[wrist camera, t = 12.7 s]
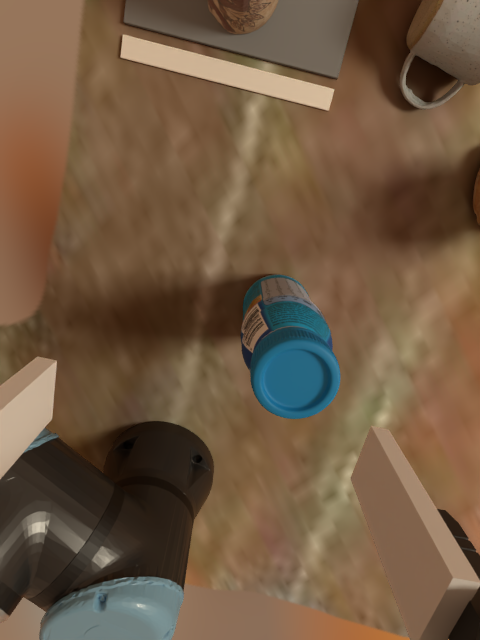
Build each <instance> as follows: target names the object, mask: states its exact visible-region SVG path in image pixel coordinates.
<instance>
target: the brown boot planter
mask: <svg viewBox="0 0 480 640" xmlns="http://www.w3.org/2000/svg"><path fill="white" fill-rule="evenodd" d="M473 209H474V212H475V214H476V215H477V222H478V224H479V225H480V169H479V172H478V174H477V177H476V181H475V186H474V195H473Z"/></svg>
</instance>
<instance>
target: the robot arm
mask: <svg viewBox="0 0 480 640" xmlns="http://www.w3.org/2000/svg"><path fill="white" fill-rule="evenodd" d="M56 365H57V361H56V360H51V359H47V358H42V357H36V358H35V359H34V360H33V361H31V362H30V363H29V364H27V365H26V366H25V367H24V368H22V369H21V370H20V371H19V372H17V373H16V374H15V375H13V376H12V377H11V378H10V379H8V380H7V381H6V382H4V383H3V384H2V385H1V386H0V623H2V622H4V621H6V620H7V619H8V618H9V616H10V615H11V613H12V612H13V610H14V609H15V608H16V606H17V605H18V603H19V602H20V600H21V599H22V598H23V597H24V598H26V599H28V600H29V601H31V602H32V603H34V604H35V605H37V606H38V607H40V608H41V609H43V610H44V611H46V613H45V615H44V616H43V618H42V620H41V629H40V635H39V639H40V640H171V639H172V637H173V634H174V631H175V628H176V623H177V619H178V615H179V610H180V606H181V605H182V602H183V598H184V596H183V594H184V593H183V590H184V583H185V576H186V569H187V563H188V556H189V549H190V542H191V535H192V528H193V522H194V519H195V517H196V516H197V514H198V512H199V511H200V509H201V507H202V506H203V504H204V502H205V501H206V499H207V497H208V495H209V493H210V490H211V487H212V482H213V473H214V464H213V459H212V456H211V453H210V451H209V449H208V448H207V446H206V445H205V444H204V442H203V441H202V440H201V439H200V438H199V437H198V436H197V435H195V434H194V433H193V432H191V431H189V430H188V429H186V428H183V427H181V426H179V425H175V424H172V423H166V422H148V423H143V424H139V425H137V426H134V427H132V428H130V429H128V430H127V431H125V432H124V433H123V434H121V435H120V436H119V437H118V439H117V440H116V441H115V443H114V444H113V446H112V448H111V450H110V452H109V454H108V456H107V458H106V461H105V465H104V474H103V473H102V472H101V471H100V470H98V469H97V468H96V467H95V466H93V465H92V464H91V463H89V462H88V461H87V460H86V459H84V458H83V457H82V456H81V455H79V454H78V453H77V452H75V451H74V450H73V449H72V448H70V447H69V446H68V445H67V444H65V443H64V442H63V441H62V440H61V439H59V438H58V437H59V436H58V435H57V434H56V433H51V432H50V431H49V430H47V429H46V428H45V427H46V425H47V424H48V423H49V422H50V421H51V420H52V414H53V401H54V389H55V377H56ZM351 481H352V483H353V486H354V489H355V492H356V494H357V497H358V500H359V502H360V505H361V508H362V511H363V513H364V516H365V519H366V521H367V524H368V527H369V529H370V532H371V535H372V538H373V540H374V543H375V546H376V548H377V551H378V554H379V557H380V559H381V562H382V565H383V567H384V570H385V573H386V576H387V578H388V581H389V584H390V586H391V589H392V592H393V595H394V597H395V600H396V603H397V605H398V608H399V611H400V614H401V616H402V619H403V622H404V624H405V627H406V630H407V632H408V635H409V638H410V640H448V639H449V640H480V556H479V554H478V553H476V549H475V548H474V546H473V545H472V543H471V542H470V541H468V537H467V535H466V534H465V532H464V531H463V529H462V528H461V526H460V525H459V523H458V522H457V521H456V520H455V519H454V518H453V517H452V516H451V515H450V514H449V513H447V512H446V511H445V510H440V509H436V507H435V505H434V504H433V502H432V500H431V499H430V497H429V495H428V494H427V492H426V490H425V489H424V487H423V486H422V484H421V482H420V481H419V479H418V477H417V476H416V474H415V472H414V471H413V469H412V467H411V466H410V464H409V462H408V461H407V459H406V457H405V456H404V454H403V453H402V451H401V449H400V448H399V446H398V444H397V443H396V441H395V439H394V438H393V436H392V434H391V433H390V431H389V430H388V429H383V428H378V427H374V426H371V428H370V430H369V433H368V435H367V438H366V440H365V443H364V446H363V448H362V451H361V453H360V456H359V458H358V461H357V463H356V466H355V469H354V471H353V474H352V476H351Z"/></svg>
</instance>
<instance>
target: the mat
mask: <svg viewBox="0 0 480 640" xmlns="http://www.w3.org/2000/svg"><path fill="white" fill-rule="evenodd" d="M358 1H359V0H278V3H277V6H276V9H275V10H274V12H273V14H272V16H271V17H270V18H269V20H268V21H267V22H266V23H265V24H264V25H263V26H262V27H260V28H259V29H258V30H255V31H253V32H251V33H247V34H233V33H230V32H228V31H227V30H226V29H224V28H223V26H222V25H221V24H220V23H219V22H218V21H217V19H216V18H215V17H214V15H213V14H212V13H211V12H210V11H209V7H208V0H126V5H125V14H124V23H125V24H127V25H131V26H135V27H138V28H142V29H146V30H150V31H154V32H158V33H161V34H165V35H169V36H173V37H177V38H181V39H184V40H188V41H192V42H196V43H200V44H204V45H207V46H211V47H215V48H219V49H223V50H227V51H230V52H234V53H238V54H242V55H246V56H250V57H253V58H257V59H261V60H265V61H269V62H273V63H276V64H280V65H284V66H288V67H292V68H295V69H299V70H303V71H307V72H311V73H315V74H318V75H322V76H326V77H330V78H334V79H337V78H338V75H339V72H340V68H341V64H342V60H343V57H344V53H345V49H346V45H347V42H348V38H349V34H350V31H351V27H352V23H353V19H354V16H355V12H356V8H357V5H358Z"/></svg>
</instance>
